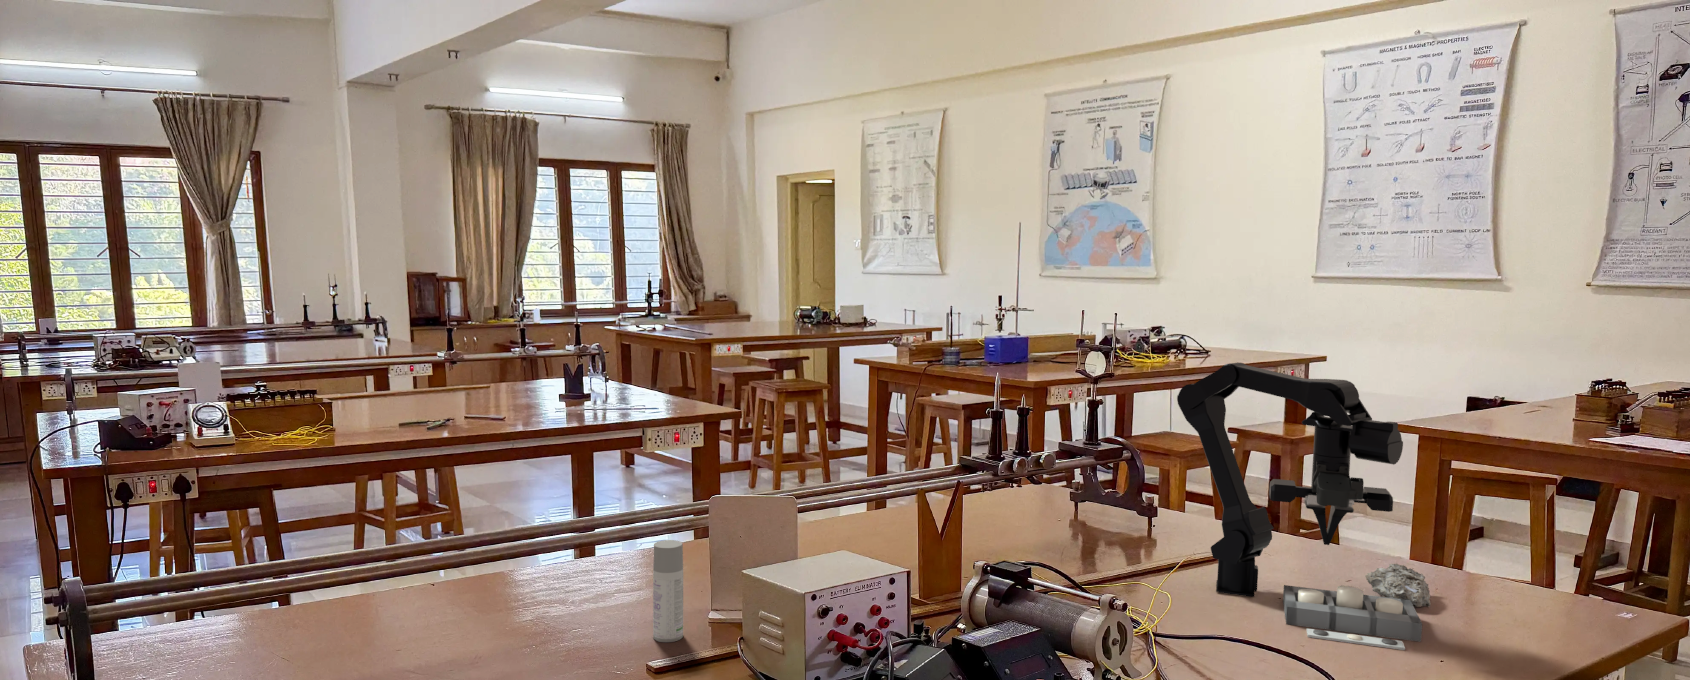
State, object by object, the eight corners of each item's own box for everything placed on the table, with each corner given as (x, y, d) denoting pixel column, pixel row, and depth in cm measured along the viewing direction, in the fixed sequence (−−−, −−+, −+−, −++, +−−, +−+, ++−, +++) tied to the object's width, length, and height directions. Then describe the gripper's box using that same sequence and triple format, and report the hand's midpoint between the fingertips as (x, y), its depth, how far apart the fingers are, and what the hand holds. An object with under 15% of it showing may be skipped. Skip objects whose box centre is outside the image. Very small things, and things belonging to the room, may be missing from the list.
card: (1307, 636, 167) (1308, 633, 167) (1306, 630, 170) (1306, 627, 170) (1404, 650, 162) (1405, 646, 162) (1401, 643, 165) (1402, 639, 165)
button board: (1286, 623, 173) (1287, 606, 173) (1282, 601, 184) (1283, 584, 184) (1420, 641, 166) (1422, 623, 166) (1408, 617, 177) (1410, 600, 177)
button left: (1297, 615, 176) (1299, 594, 176) (1296, 607, 180) (1297, 587, 179) (1323, 618, 175) (1324, 597, 174) (1321, 610, 178) (1322, 590, 178)
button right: (1376, 625, 172) (1377, 604, 171) (1373, 617, 176) (1374, 596, 175) (1403, 628, 170) (1404, 607, 170) (1399, 620, 174) (1401, 599, 174)
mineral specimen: (1425, 596, 190) (1443, 613, 179) (1361, 592, 193) (1374, 608, 182) (1426, 564, 190) (1443, 579, 179) (1361, 560, 193) (1374, 575, 182)
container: (647, 639, 161) (647, 546, 160) (662, 629, 166) (662, 538, 164) (673, 644, 160) (673, 549, 158) (688, 633, 164) (688, 541, 163)
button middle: (1337, 612, 174) (1338, 591, 173) (1334, 604, 177) (1336, 584, 177) (1363, 615, 172) (1364, 594, 172) (1360, 607, 176) (1361, 587, 176)
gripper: (1274, 458, 171) (1269, 550, 172) (1400, 468, 164) (1394, 564, 165) (1271, 446, 181) (1266, 533, 182) (1390, 455, 174) (1384, 545, 176)
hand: (1326, 544), depth 176 cm, fingers closed
